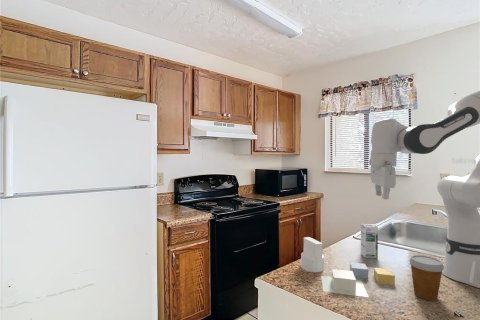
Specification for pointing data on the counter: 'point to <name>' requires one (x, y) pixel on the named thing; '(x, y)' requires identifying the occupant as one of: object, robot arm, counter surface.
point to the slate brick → (359, 270)
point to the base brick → (343, 280)
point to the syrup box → (369, 240)
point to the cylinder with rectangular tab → (312, 255)
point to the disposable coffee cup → (426, 276)
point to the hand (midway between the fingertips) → (381, 197)
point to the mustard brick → (384, 276)
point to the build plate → (329, 288)
